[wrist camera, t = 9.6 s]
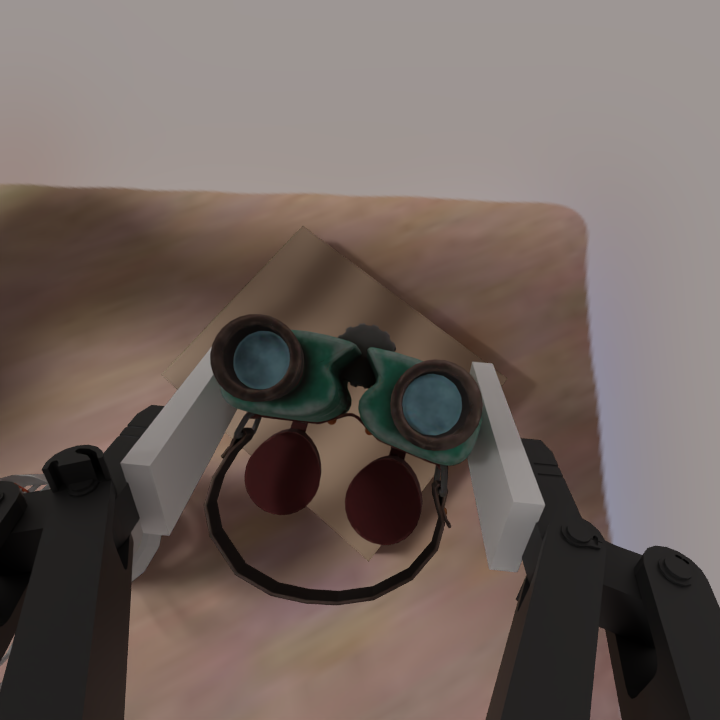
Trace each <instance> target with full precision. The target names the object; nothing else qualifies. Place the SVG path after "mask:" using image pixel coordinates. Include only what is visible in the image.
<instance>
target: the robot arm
mask: <svg viewBox="0 0 720 720" xmlns="http://www.w3.org/2000/svg"><path fill="white" fill-rule="evenodd" d="M211 348H212V347H211ZM211 348H210V349H209V351H208V352H207V353H206V355H205V356H204V357H203V358H202V360H201V361H200V362H199V363H198V365H197V366H196V367H195V369H194V370H193V371H192V372H191V374H190V375H189V376H188V377H187V379H186V380H185V381H184V383H183V384H182V385H181V386H180V388H179V389H178V390H177V391H176V393H175V394H174V395H173V397H172V398H171V399H170V400H169V402H168V403H167V404H166V405H165V406H157V405H151V406H149V407H148V408H146V409H144V410H143V411H141V412H140V413H138V414H137V415H136V416H135V417H134V418H133V420H132V421H131V422H130V423H129V424H128V427H126V428H125V429H124V430H123V431H122V432H121V434H120V436H119V437H117V438H116V439H115V441H114V442H113V443H112V444H111V445H110V446H109V448H108V449H107V450H106V451H105V452H104V453H103V452H102V450H100V449H99V448H98V447H96V446H91V445H80V446H75V447H71V448H68V449H65V450H63V451H61V452H59V453H57V454H55V455H54V456H53V457H52V458H50V459H49V460H48V461H47V462H46V463H45V465H44V467H43V468H42V471H43V473H44V475H45V478H46V480H47V482H48V484H49V486H50V488H51V489H48V490H42V491H35V492H28V493H22V492H21V490H20V488H19V486H18V485H17V484H15V483H14V482H11V481H0V661H1V660H2V658H3V656H4V654H5V652H6V650H7V648H8V646H9V644H10V642H11V640H12V638H13V636H14V634H15V637H14V640H13V644H12V648H11V652H10V655H9V659H8V663H7V667H6V670H5V674H4V678H3V682H2V686H1V689H0V720H124V710H125V692H126V674H127V655H128V637H129V619H130V601H131V583H132V564H133V546H134V542H133V537H132V534H131V532H132V530H133V529H134V527H135V526H136V524H137V522H138V521H140V524H141V527H142V530H143V533H148V534H157V535H167V536H170V534H171V532H172V530H173V528H174V526H175V525H176V523H177V521H178V519H179V517H180V515H181V513H182V512H183V510H184V508H185V506H186V504H187V502H188V500H189V498H190V497H191V495H192V493H193V491H194V489H195V487H196V485H197V484H198V482H199V480H200V478H201V476H202V474H203V472H204V470H205V469H206V467H207V465H208V463H209V461H210V459H211V457H212V456H213V454H214V452H215V450H216V448H217V446H218V444H219V442H220V441H221V439H222V437H223V435H224V433H225V431H226V429H227V428H228V426H229V424H230V422H231V420H232V418H233V416H234V414H235V413H236V411H237V409H236V408H234V407H233V406H231V405H230V404H228V403H227V402H226V401H225V400H224V398H223V397H222V394H221V392H220V385H219V384H218V382H217V380H216V378H215V377H214V375H213V372H212V368H211V364H210V353H211ZM470 374H471V375H472V377H473V378H474V379H475V381H476V382H477V384H478V386H479V389H480V391H481V394H482V401H483V409H482V410H483V415H482V422H481V426H480V430H479V434H478V437H477V441H476V443H475V445H474V447H473V449H472V452H471V453H470V455H469V456H468V457H467V460H468V465H469V470H470V475H471V480H472V485H473V490H474V495H475V500H476V505H477V510H478V515H479V520H480V525H481V530H482V535H483V540H484V545H485V551H486V556H487V561H488V566H489V569H491V570H500V571H509V572H517V571H518V569H519V567H520V564H521V562H522V560H523V563H524V567H525V571H526V574H527V575H526V578H525V580H524V582H523V584H522V587H521V589H520V591H519V593H518V596H517V598H516V600H517V601H518V603H517V607H516V610H515V614H514V618H513V621H512V625H511V629H510V632H509V636H508V640H507V643H506V647H505V651H504V654H503V658H502V662H501V665H500V669H499V672H498V676H497V680H496V683H495V687H494V691H493V694H492V698H491V702H490V705H489V709H488V713H487V716H486V720H590V710H591V700H592V690H593V680H594V669H595V659H596V649H597V639H598V629H599V627H601V628H604V629H605V631H606V636H607V642H608V647H609V653H610V658H611V664H612V669H613V674H614V680H615V685H616V691H617V696H618V702H619V707H620V712H621V718H622V720H720V607H719V605H718V603H717V600H716V598H715V596H714V593H713V591H712V589H711V586H710V584H709V582H708V580H707V578H706V576H705V575H704V573H703V572H702V570H701V569H700V568H699V567H698V566H697V565H696V564H695V563H694V562H693V561H692V560H690V559H689V558H687V557H686V556H684V555H683V554H681V553H680V552H678V551H675V550H672V549H670V548H667V547H661V546H653V547H650V548H647V550H646V551H645V553H644V554H643V555H640V554H638V553H635V552H632V551H629V550H626V549H623V548H621V547H618V546H616V545H613V544H611V543H609V542H607V541H605V540H604V538H603V536H602V535H601V533H600V532H599V530H597V529H596V528H595V527H594V526H593V525H592V524H591V523H589V522H588V521H586V520H584V519H582V517H581V515H580V513H579V511H578V509H577V506H576V504H575V502H574V500H573V498H572V495H571V493H570V491H569V489H568V486H567V484H566V482H565V480H564V478H563V477H562V476H563V475H562V473H561V471H560V469H559V468H558V464H557V462H556V460H555V458H554V455H553V453H552V452H551V451H550V449H549V448H548V447H547V446H546V445H545V444H544V443H543V442H542V441H541V440H533V439H523V438H520V436H519V433H518V430H517V428H516V425H515V422H514V420H513V417H512V414H511V412H510V409H509V406H508V404H507V401H506V398H505V396H504V393H503V390H502V387H501V385H500V382H499V379H498V377H497V374H496V371H495V369H494V366H493V363H481V362H472V365H471V369H470ZM15 632H16V633H15Z"/></svg>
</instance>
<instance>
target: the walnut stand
mask: <svg viewBox="0 0 720 720" xmlns="http://www.w3.org/2000/svg"><path fill="white" fill-rule="evenodd" d="M248 314H262V315H267V316H271V317H273V318H276V319H278V320H280V321H281V322H282V323H284V324H285V325H287V326H288V328H289V329H290V330H301V331H309V332H314V333H320V334H325V335H329V336H333V337H336V338H338V336H339V335H343V334H344V333H345V332H346V329H347V328H348V327H350V326H351V327H356V326H358V325H359V324H360V323H365V324H366V325H368V326H372V325H373V324H374V325H377V326H379V329H380V330H382V331H383V332H384V331H387V332H388V334H389V335H390V340H391V341H392V342H394V343H395V346H396V351H395V352H396V353H400V354H403V355H406V356H409V357H413V358H416V359H419V360H421V361H427V360H434V359H437V360H446V361H450V362H453V363H456V364H457V365H459V366H461V367H463V368H464V369H465V370H466V371H467V372H469V373H470V369H471V365H472V362H481V363H486V362H485V361H483V360H482V359H481V358H479V357H478V356H476V355H475V354H474V353H472V352H471V351H470V350H468V349H467V348H466V347H464V346H463V345H462V344H460V343H459V342H458V341H456V340H455V339H454V338H452V337H451V336H450V335H448V334H447V333H446V332H444V331H443V330H442V329H440V328H439V327H438V326H436V325H435V324H434V323H432V322H431V321H430V320H428V319H427V318H426V317H424V316H423V315H422V314H420V313H419V312H418V311H416V310H415V309H414V308H412V307H411V306H410V305H408V304H407V303H406V302H404V301H403V300H402V299H400V298H399V297H398V296H396V295H395V294H394V293H392V292H391V291H390V290H388V289H387V288H385V287H384V286H383V285H381V284H380V283H379V282H377V281H376V280H375V279H373V278H372V277H371V276H369V275H368V274H367V273H365V272H364V271H363V270H361V269H360V268H359V267H357V266H356V265H355V264H353V263H352V262H351V261H349V260H348V259H347V258H345V257H344V256H343V255H341V254H340V253H339V252H337V251H336V250H335V249H333V248H332V247H331V246H329V245H328V244H327V243H325V242H324V241H323V240H321V239H320V238H319V237H317V236H316V235H315V234H313V233H312V232H311V231H309V230H308V229H307V228H305V227H304V226H302V227H301V228H300V229H299V230H298V231H297V232H296V233H295V234H294V235H293V236H292V237H291V238H290V240H289V241H288V242H287V243H286V244H285V245H284V246H283V247H282V248H281V249H280V250H279V251H278V252H277V253H276V254H275V255H274V256H273V257H272V259H271V260H270V261H269V262H268V263H267V264H266V265H265V266H264V267H263V268H262V269H261V270H260V271H259V272H258V273H257V274H256V275H255V276H254V277H253V279H252V280H251V281H250V282H249V283H248V284H247V285H246V286H245V287H244V288H243V289H242V290H241V291H240V292H239V293H238V294H237V295H236V296H235V297H234V299H233V300H232V301H231V302H230V303H229V304H228V305H227V306H226V307H225V308H224V309H223V310H222V311H221V312H220V313H219V314H218V315H217V316H216V318H215V319H214V320H213V321H212V322H211V323H210V324H209V325H208V326H207V327H206V328H205V329H204V330H203V331H202V332H201V333H200V334H199V335H198V336H197V338H196V339H195V340H194V341H193V342H192V343H191V344H190V345H189V346H188V347H187V348H186V349H185V350H184V351H183V352H182V353H181V354H180V355H179V357H178V358H177V359H176V360H175V361H174V362H173V363H172V364H171V365H170V366H169V367H168V368H167V369H166V370H165V371H164V372H163V373H162V374H161V375H162V376H163V377H164V378H165V379H166V380H167V381H168V382H169V383H171V384H172V385H173V386H174V387H175V388H176V389H177V390H178V389H179V388H180V386H181V385H182V384H183V383H184V381H185V380H186V379H187V377H188V376H189V375H190V374H191V372H192V371H193V370H194V369H195V367H196V366H197V365H198V363H199V362H200V361H201V360H202V358H203V357H204V356H205V355H206V353H207V352H208V351H209V349H210V348H211V347H212V344H213V342H214V339H215V337H216V335H217V334H218V333H219V331H220V330H221V329H222V328H223V327H224V326H225V325H226V324H228V323H229V322H230V321H232V320H234V319H236V318H238V317H240V316H244V315H248ZM495 371H496V374H497V377H498V379H499V382H500V385H501V387H502V385H503V384H504V383H505V381H506V380H507V378H506V377H505V376H503V375H502V374H501V373H499V372H498V371H497V370H495ZM368 389H369V388H368ZM368 389H364V387H362V386H357V387H354V386H351V385H350V382H348V390H349V393H350V395H351V399H352V403H351V407H350V409H349V411H348V412H347V413H354V414H355V415H357V416H359V417H360V414H359V410H358V406H359V400H360V398H361V397H362V395H363V394H364V393H365V392H366V390H368ZM246 413H247V412H246V411H243V410H240V409H237V411H236V413H235V414H234V416H233V418H232V420H231V422H230V424H229V426H228V428H227V429H226V431H225V433H226V434H227V435H228V436H229V437H231V438H232V439H233V437H234V432H235V430H236V428H237V427H238V425H239V423H240V422H241V420H242V418H243V416H244V415H245V414H246ZM254 421H255V419H249V420H248V422H247V423H246V425H245V426H244V428H247V427H249V428H252V426H253V424H254ZM292 422H293V421H286V420H278V419H270V418H263V417H262V419H261V421H260V423H259V426H258V428H257V431H256V433H255V434H254V436H253V438H252V439H251V440H250V441H249V442H248V443H247V444H246V445H245V446H244V447H243V449H244V450H245V451H246V452H247V453H248V454H249V455H251V456H252V454H253V453H254V451H255V450H256V449H257V448H258V447H259V446H260V445H261V444H262V443H263V442H264V441H265V440H267V439H268V438H269V437H271V436H272V435H273V434H275V433H277V432H280V431H282V430H285V429H290V428H291V425H292ZM305 433H306V434H307V435H308V436H309V437H310V438H311V439H312V440H313V442H314V444H315V445H316V447H317V450H318V452H319V455H320V460H321V478H320V484H319V488H318V490H317V493H316V495H315V496H314V498H313V499H312V501H311V502H310V503H309V504H308V505H307V507H308V508H309V509H311V510H312V511H313V512H314V513H315V514H316V515H317V516H318V517H319V518H321V519H322V520H323V521H324V522H325V523H326V524H327V525H328V526H329V527H331V528H332V529H333V530H334V531H335V532H336V533H337V534H338V535H339V536H341V537H342V538H343V539H344V540H345V541H346V542H347V543H348V544H349V545H351V546H352V547H353V548H354V549H355V550H356V551H357V552H358V553H359V554H361V555H362V556H363V557H364V558H365V559H366V560H367V561H368V562H369V560H370V559H371V558H372V556H373V555H374V554H375V553H376V551H377V550H378V549H379V547H380V546H381V545H379V544H374V543H371V542H369V541H367V540H365V539H364V538H362V537H361V536H360V535H359V534H357V532H356V531H355V530H354V529H353V528H352V526H351V524H350V522H349V520H348V518H347V514H346V511H345V497H346V492H347V489H348V487H349V484H350V483H351V481H352V480H353V478H354V477H355V476H356V475H357V473H358V472H359V471H360V470H361V469H363V468H364V467H365V466H367V465H368V464H369V463H371V462H372V461H374V460H376V459H378V458H380V457H383V456H388V455H389V453H390V450H391V446H389V445H387V444H384V443H382V442H380V441H378V440H377V439H376V438H375V437H374V436H373V435H367V434H366V432H365V427H364V426H363V425H362V424H361V423H360V422H359V421H358V420H357V419H356V418H354V417H352V416H347V417H343V418H340V419H337V421H336V423H335V424H334V425H330V424H328V422H326V423H322V424H310V423H308V426H307V429H306V432H305ZM405 461H406V462H407V463H408V464H409V465H410V466H411V468H412V469H413V471H414V472H415V474H416V476H417V478H418V481H419V483H420V487H421V492H422V491H423V489H424V488H425V487H426V485H427V484H428V483H429V481H430V480H431V479H432V477H433V476H434V474H435V466H436V465H435V464H432V463H429V462H426V461H424V460H422V459H419V458H417V457H415V456H412V455H410V454H408V453H406V456H405Z"/></svg>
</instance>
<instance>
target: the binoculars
mask: <svg viewBox="0 0 720 720" xmlns="http://www.w3.org/2000/svg"><path fill="white" fill-rule="evenodd" d="M395 351H396V346H395V343H394V342H392V341H391V340H390V335H389V334H388V332H387V331H384V332H383V331H382V330H380V329H379V326H377V325H374V324H373V325H372V326H368V325H366V324H365V323H360V324H359V325H358V326H356V327H351V326H350V327H348V328H347V329H346V332H345V333H344V334H343V335H339V336H338V338H336V337H333V336H329V335H325V334H320V333H314V332H309V331H301V330H290V329H289V328H288V326H287V325H285V324H284V323H282V322H281V321H280V320H278V319H276V318H273V317H271V316H267V315H262V314H248V315H244V316H240V317H238V318H236V319H234V320H232V321H230V322H229V323H228V324H226V325H225V326H224V327H223V328H222V329H221V330H220V331H219V333H218V334H217V335H216V337H215V339H214V342H213V344H212V348H211V353H210V364H211V368H212V372H213V375H214V377H215V378H216V380H217V382H218V384H219V385H220V392H221V394H222V397H223V398H224V400H225V401H226V402H227V403H228V404H230V405H231V406H233V407H234V408H236V409H240V410H243V411H246V412H247V413H246V414H245V415H244V416H243V418H242V420H241V422H240V423H239V425H238V427H237V428H236V430H235V432H234V437H233V439H232V441H231V444H230V446H229V447H228V448H227V449H226V450H225V452H224V453H223V454H222V455H221V457H222V458H223V460H222V462H221V464H220V465H219V467H218V469H217V470H216V472H215V474H214V475H213V477H212V480H211V483H210V487H209V490H208V493H207V497H206V500H205V503H204V510H205V515H206V520H207V525H208V530H209V535H210V537H211V539H212V540H213V542H214V544H215V545H216V547H217V548H218V550H219V551H220V553H221V554H222V556H223V557H224V559H225V560H226V562H227V563H228V565H229V566H230V568H231V569H232V571H233V572H234V574H235V575H236V576H238V577H239V578H241V579H243V580H245V581H246V582H248V583H250V584H251V585H253V586H255V587H257V588H258V589H260V590H262V591H263V592H265V593H267V594H269V595H270V596H274V597H278V598H283V599H288V600H292V601H297V602H301V603H306V604H323V605H343V604H350V603H357V602H364V601H371V600H375V599H377V598H379V597H381V596H383V595H384V594H386V593H388V592H390V591H392V590H394V589H396V588H398V587H400V586H402V585H404V584H406V583H408V582H410V581H411V580H413V579H414V578H415V576H416V575H417V574H418V573H419V572H420V571H421V569H422V568H423V567H424V566H425V565H426V564H427V562H428V561H429V560H430V559H431V558H432V557H433V555H434V554H435V553H436V552H437V551H438V548H439V544H440V540H441V537H442V533H443V530H444V526H445V522H446V524H447V526H448V527H449V528H451V524H450V522H449V521H448V519H447V516H446V514H447V510H446V508H445V507H444V506H445V502H446V497H447V493H448V489H447V481H448V466H451V465H456V464H459V463H461V462H462V461H464V460H465V459H466V458H467V457H468V456H469V455H470V453H471V452H472V449H473V447H474V445H475V443H476V441H477V437H478V434H479V430H480V426H481V422H482V415H483V410H482V409H483V401H482V394H481V391H480V389H479V386H478V384H477V382H476V381H475V379H474V378H473V377H472V375H471V374H470V373H469V372H467V371H466V370H465V369H464V368H463V367H461V366H459V365H457V364H456V363H453V362H450V361H446V360H437V359H434V360H427V361H421V360H419V359H416V358H413V357H409V356H406V355H403V354H400V353H396V352H395ZM348 382H350V385H351V386H354V387H357V386H362V387H364V389H368V388H369V389H368V390H366V392H365V393H364V394H363V395H362V397H361V398H360V400H359V406H358V410H359V414H360V417H359V416H357V415H355V414H354V413H347V412H348V411H349V409H350V407H351V403H352V399H351V395H350V393H349V390H348ZM347 416H352V417H354V418H356V419H357V420H358V421H359V422H360V423H361V424H362V425H363V426H364V427H365V432H366V434H367V435H373V436H374V437H375V438H376V439H377V440H378V441H380V442H382V443H384V444H387V445H389V446H391V450H390V453H389V455H388V456H383V457H380V458H378V459H376V460H374V461H372V462H371V463H369V464H368V465H367V466H365V467H364V468H363V469H361V470H360V471H359V472H358V473H357V475H356V476H355V477H354V478H353V480H352V481H351V483H350V484H349V487H348V489H347V492H346V497H345V511H346V514H347V518H348V520H349V522H350V524H351V526H352V528H353V529H354V530H355V531H356V532H357V534H359V535H360V536H361V537H362V538H364V539H365V540H367V541H369V542H371V543H374V544H379V545H391V544H395V543H398V542H400V541H402V540H404V539H405V538H407V537H408V536H409V535H410V534H411V533H412V532H413V530H414V529H415V527H416V526H417V523H418V520H419V518H420V514H421V509H422V492H421V487H420V483H419V481H418V478H417V476H416V474H415V472H414V471H413V469H412V468H411V466H410V465H409V464H408V463H407V462H406V461H405V456H406V453H408V454H410V455H412V456H415V457H417V458H419V459H422V460H424V461H426V462H429V463H432V464H435V465H436V466H435V474H434V482H433V483H432V495H433V499H434V502H435V506H436V510H437V513H438V520H437V524H436V527H435V531H434V534H433V538H432V541H431V542H430V544H429V545H428V546H427V547H426V548H425V549H424V551H423V552H422V553H421V554H420V555H419V556H418V558H417V559H416V560H415V561H414V562H413V563H412V564H411V566H410V567H409V568H407V569H405V570H404V571H402V572H400V573H398V574H396V575H394V576H392V577H390V578H388V579H386V580H384V581H382V582H380V583H378V584H376V585H374V586H371V587H364V588H357V589H350V590H343V591H331V590H314V589H307V588H302V587H298V586H293V585H289V584H284V583H279V582H277V581H275V580H274V579H272V578H270V577H268V576H267V575H265V574H263V573H262V572H260V571H258V570H256V569H255V568H253V567H251V566H250V565H248V564H246V563H245V561H244V560H243V558H242V557H241V555H240V554H239V552H238V551H237V549H236V548H235V546H234V545H233V543H232V542H231V540H230V539H229V537H228V536H227V534H226V533H225V531H224V530H223V528H222V524H221V519H220V514H219V509H218V504H217V499H218V496H219V492H220V489H221V486H222V482H223V479H224V476H225V474H226V472H227V470H228V469H229V467H230V465H231V464H232V462H233V460H234V459H235V457H236V456H237V454H238V452H239V451H240V450H241V449H242V448H243V447H244V446H245V445H246V444H247V443H248V442H249V441H250V440H251V439H252V438H253V436H254V434H255V433H256V431H257V428H258V426H259V423H260V421H261V419H262V417H263V418H270V419H278V420H286V421H293V422H292V425H291V428H290V429H285V430H282V431H280V432H277V433H275V434H273V435H272V436H271V437H269V438H268V439H267V440H265V441H264V442H263V443H262V444H261V445H260V446H259V447H258V448H257V449H256V450H255V451H254V453H253V454H252V456H251V457H250V459H249V461H248V463H247V466H246V470H245V485H246V489H247V492H248V494H249V496H250V498H251V499H252V501H253V502H254V503H255V504H256V505H257V506H258V507H260V508H261V509H262V510H264V511H266V512H269V513H271V514H277V515H287V514H292V513H295V512H298V511H299V510H301V509H303V508H305V507H306V506H307V505H308V504H309V503H310V502H311V501H312V499H313V498H314V496H315V495H316V493H317V490H318V488H319V484H320V478H321V460H320V455H319V452H318V450H317V447H316V445H315V444H314V442H313V440H312V439H311V438H310V437H309V436H308V435H307V434H306V433H305V432H306V429H307V426H308V423H310V424H322V423H326V422H328V424H330V425H334V424H335V423H336V421H337V419H340V418H343V417H347ZM249 419H255V421H254V424H253V426H252V428H249V427H247V428H244V426H245V425H246V423H247V422H248V420H249ZM440 473H441V481H440ZM440 486H441V487H440ZM438 493H439V495H438Z"/></svg>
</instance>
